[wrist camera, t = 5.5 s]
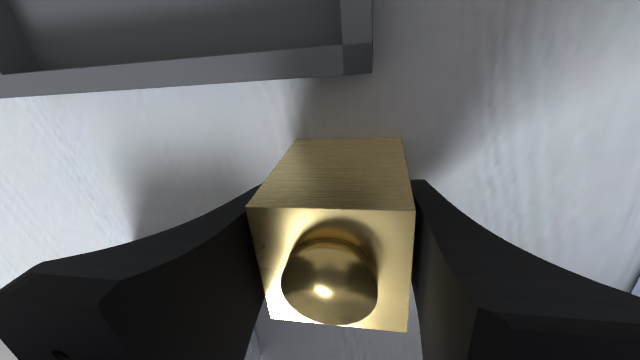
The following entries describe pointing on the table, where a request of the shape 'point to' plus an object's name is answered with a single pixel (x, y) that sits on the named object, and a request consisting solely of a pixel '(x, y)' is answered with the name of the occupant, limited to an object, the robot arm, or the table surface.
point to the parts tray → (177, 43)
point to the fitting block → (337, 233)
